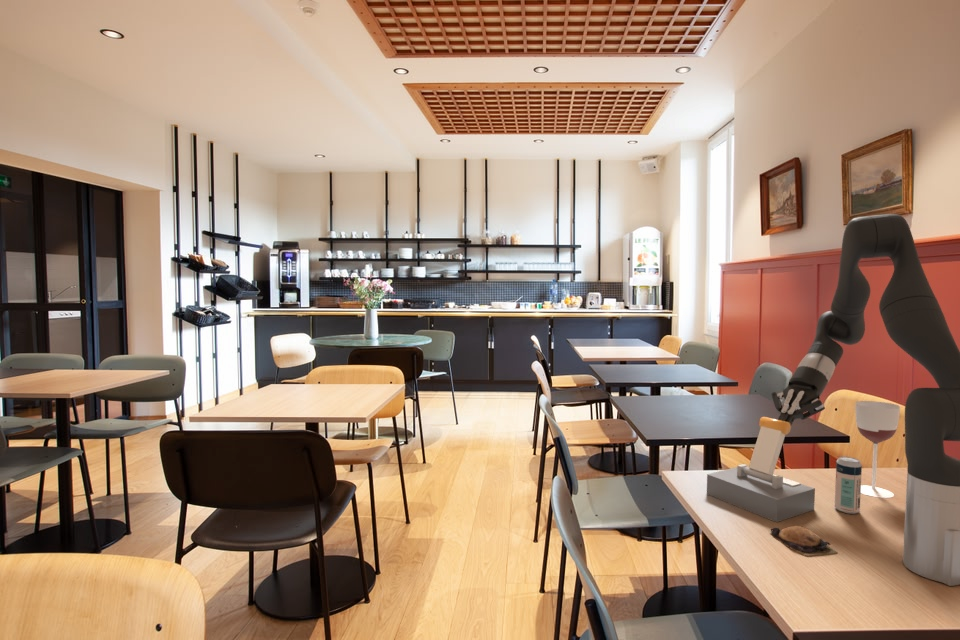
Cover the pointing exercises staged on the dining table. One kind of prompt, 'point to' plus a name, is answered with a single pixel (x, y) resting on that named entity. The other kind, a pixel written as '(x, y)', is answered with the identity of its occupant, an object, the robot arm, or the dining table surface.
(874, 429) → the wineglass
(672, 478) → the dining table surface
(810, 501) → the block
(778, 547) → the dining table surface
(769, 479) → the breaker lever
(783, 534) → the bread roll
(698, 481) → the dining table surface
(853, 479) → the beer can
